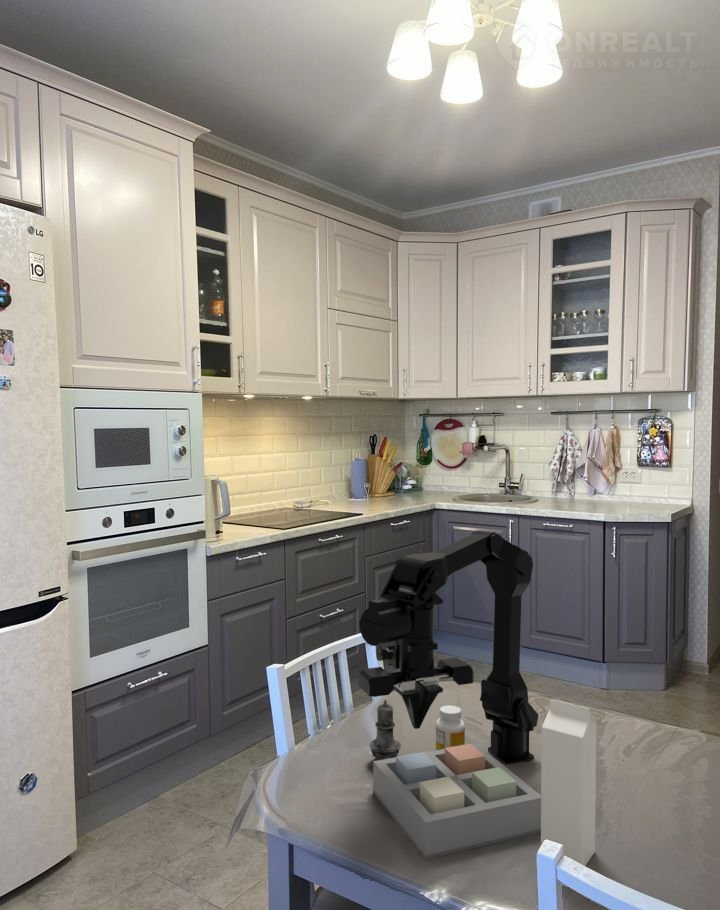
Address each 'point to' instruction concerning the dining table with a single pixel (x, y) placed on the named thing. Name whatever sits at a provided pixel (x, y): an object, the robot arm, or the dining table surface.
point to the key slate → (415, 768)
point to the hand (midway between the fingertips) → (416, 727)
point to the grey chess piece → (384, 735)
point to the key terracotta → (464, 759)
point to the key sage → (493, 785)
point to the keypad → (456, 810)
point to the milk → (569, 779)
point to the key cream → (441, 795)
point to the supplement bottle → (449, 728)
